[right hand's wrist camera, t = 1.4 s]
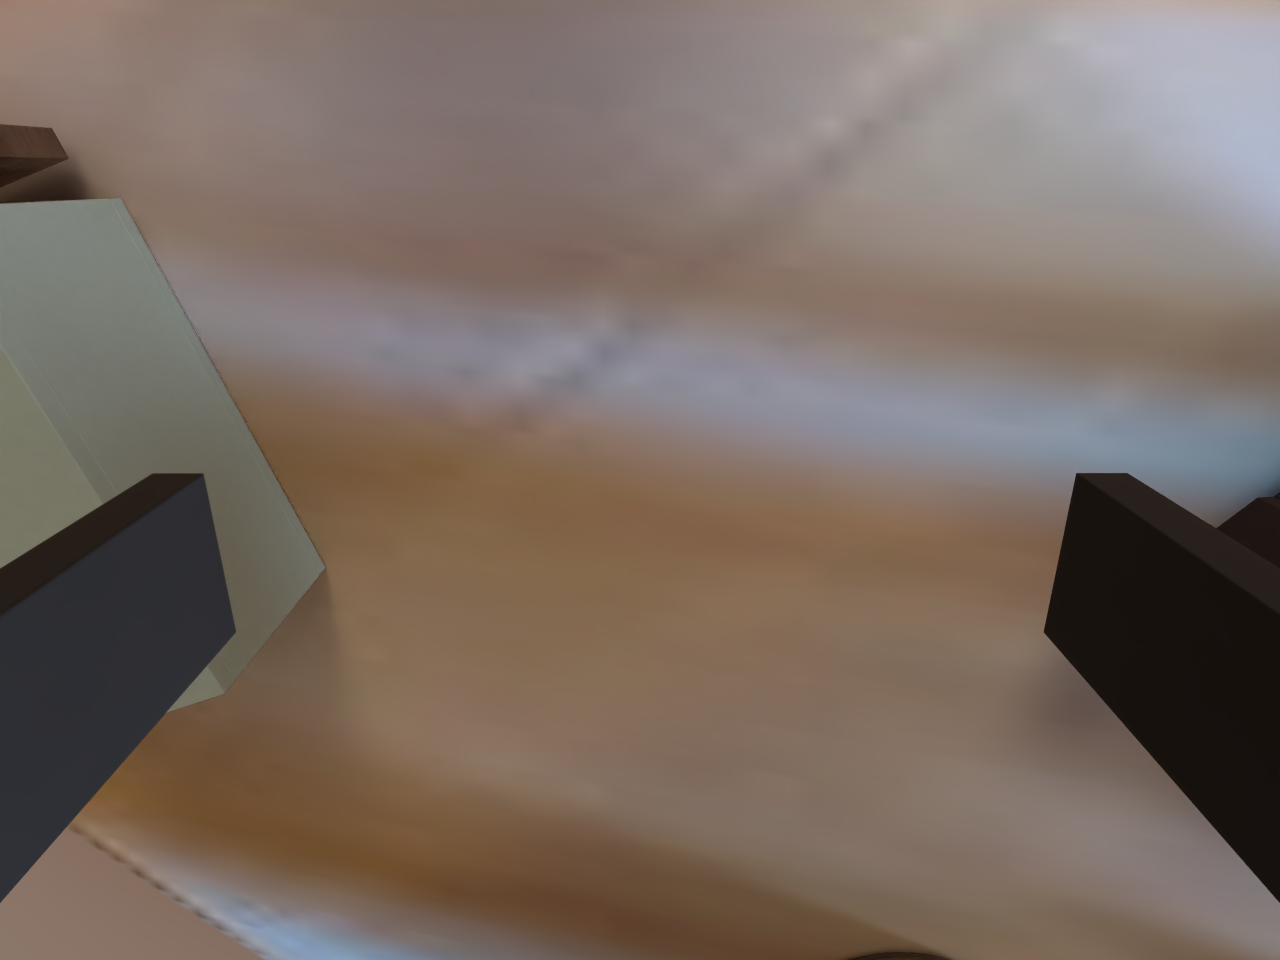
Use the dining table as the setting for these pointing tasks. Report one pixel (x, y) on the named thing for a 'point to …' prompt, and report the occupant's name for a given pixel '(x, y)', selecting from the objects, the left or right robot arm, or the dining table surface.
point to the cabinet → (129, 412)
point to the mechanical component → (1257, 528)
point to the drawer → (27, 152)
